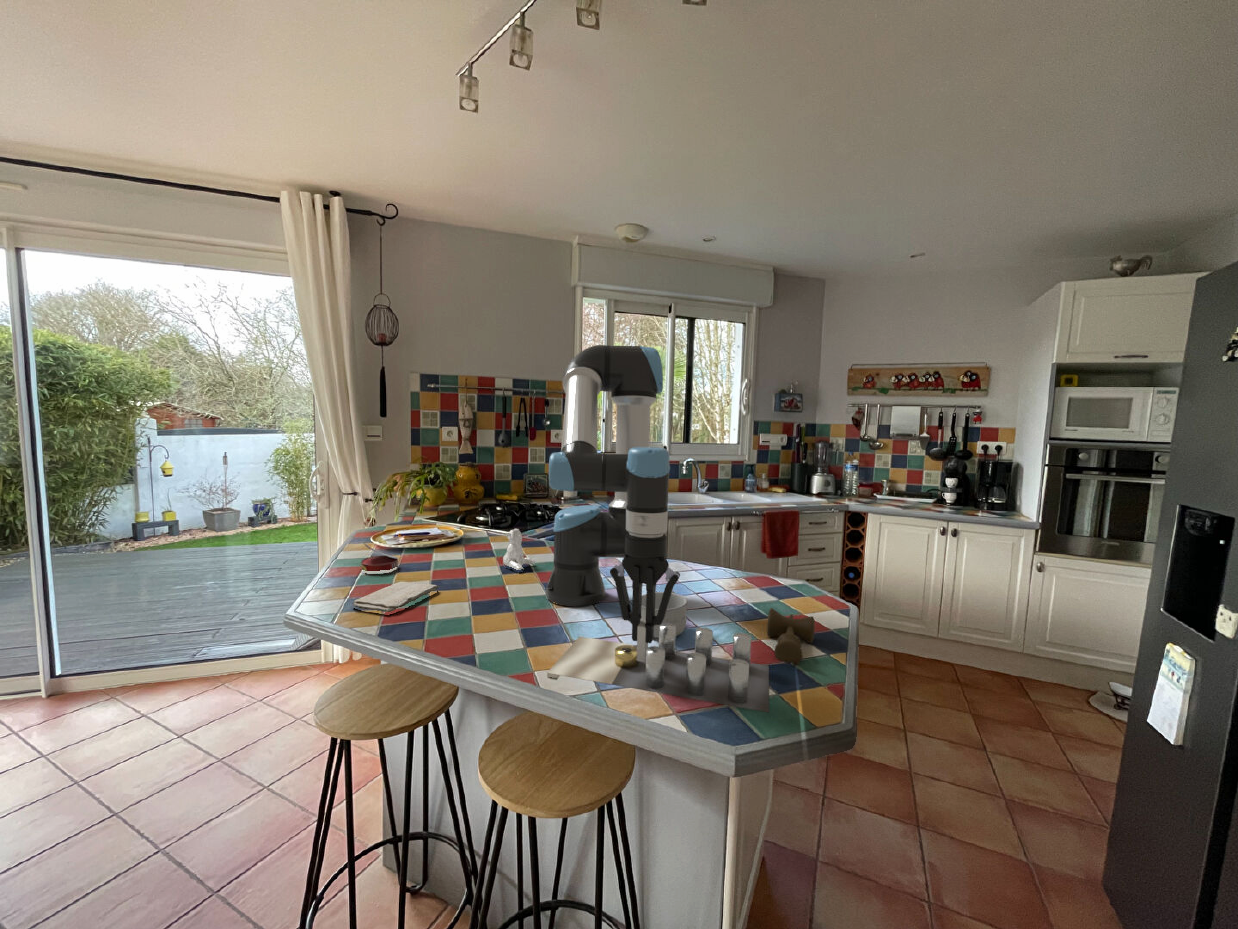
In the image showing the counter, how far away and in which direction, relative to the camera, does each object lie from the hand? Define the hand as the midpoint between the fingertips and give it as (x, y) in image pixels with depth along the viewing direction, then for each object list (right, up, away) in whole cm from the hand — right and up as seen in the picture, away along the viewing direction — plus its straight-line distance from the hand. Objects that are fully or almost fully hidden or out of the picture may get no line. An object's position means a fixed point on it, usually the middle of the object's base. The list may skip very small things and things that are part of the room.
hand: (642, 657), depth 94 cm
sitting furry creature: (-36, +4, +61) cm, 71 cm away
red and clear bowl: (-75, +5, +56) cm, 93 cm away
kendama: (+31, -2, +12) cm, 34 cm away
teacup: (+6, -1, +17) cm, 18 cm away
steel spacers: (+10, -2, -3) cm, 11 cm away
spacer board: (+3, -2, -1) cm, 4 cm away
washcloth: (-59, +1, +31) cm, 67 cm away
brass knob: (-3, -1, +1) cm, 3 cm away
